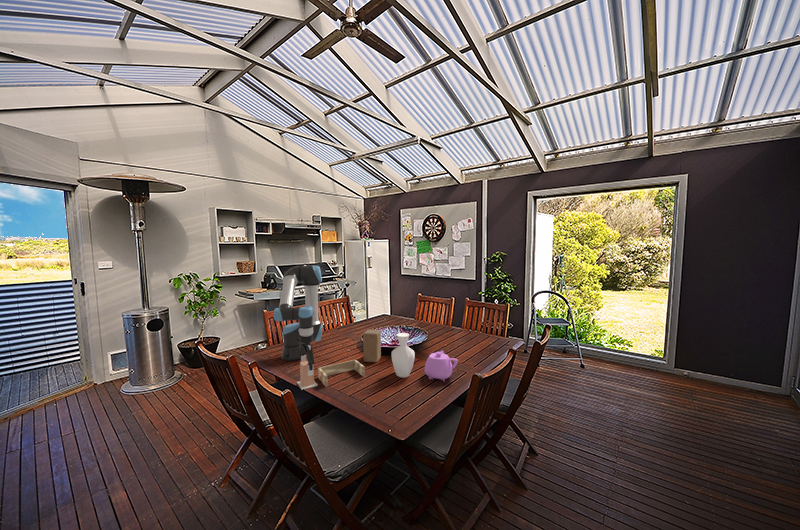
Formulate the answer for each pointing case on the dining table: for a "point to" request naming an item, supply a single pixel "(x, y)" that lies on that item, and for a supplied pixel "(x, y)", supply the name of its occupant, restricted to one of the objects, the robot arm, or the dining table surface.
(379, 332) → the wooden block
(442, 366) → the teapot
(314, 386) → the white tile
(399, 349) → the vase
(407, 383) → the dining table surface
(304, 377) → the terracotta block
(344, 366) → the frame
